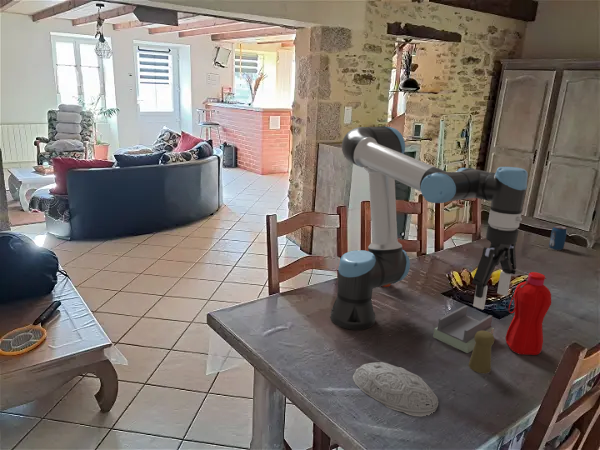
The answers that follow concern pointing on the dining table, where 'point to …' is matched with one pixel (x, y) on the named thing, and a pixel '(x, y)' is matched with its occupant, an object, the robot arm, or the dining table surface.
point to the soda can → (558, 237)
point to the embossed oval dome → (396, 388)
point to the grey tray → (461, 329)
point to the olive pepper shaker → (482, 352)
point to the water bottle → (529, 315)
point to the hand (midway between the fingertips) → (490, 300)
